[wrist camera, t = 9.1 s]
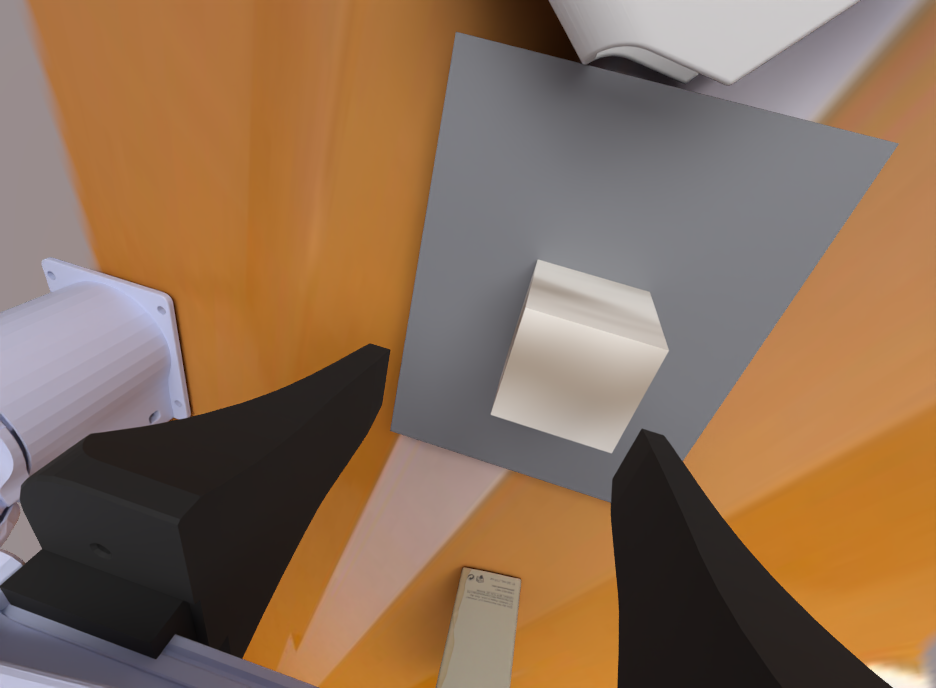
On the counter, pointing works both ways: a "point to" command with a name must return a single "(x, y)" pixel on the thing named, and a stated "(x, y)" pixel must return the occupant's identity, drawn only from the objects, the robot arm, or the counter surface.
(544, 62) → the base plate
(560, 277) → the ash cube
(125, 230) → the counter surface
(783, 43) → the cable organizer
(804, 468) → the counter surface
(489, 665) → the skincare box
